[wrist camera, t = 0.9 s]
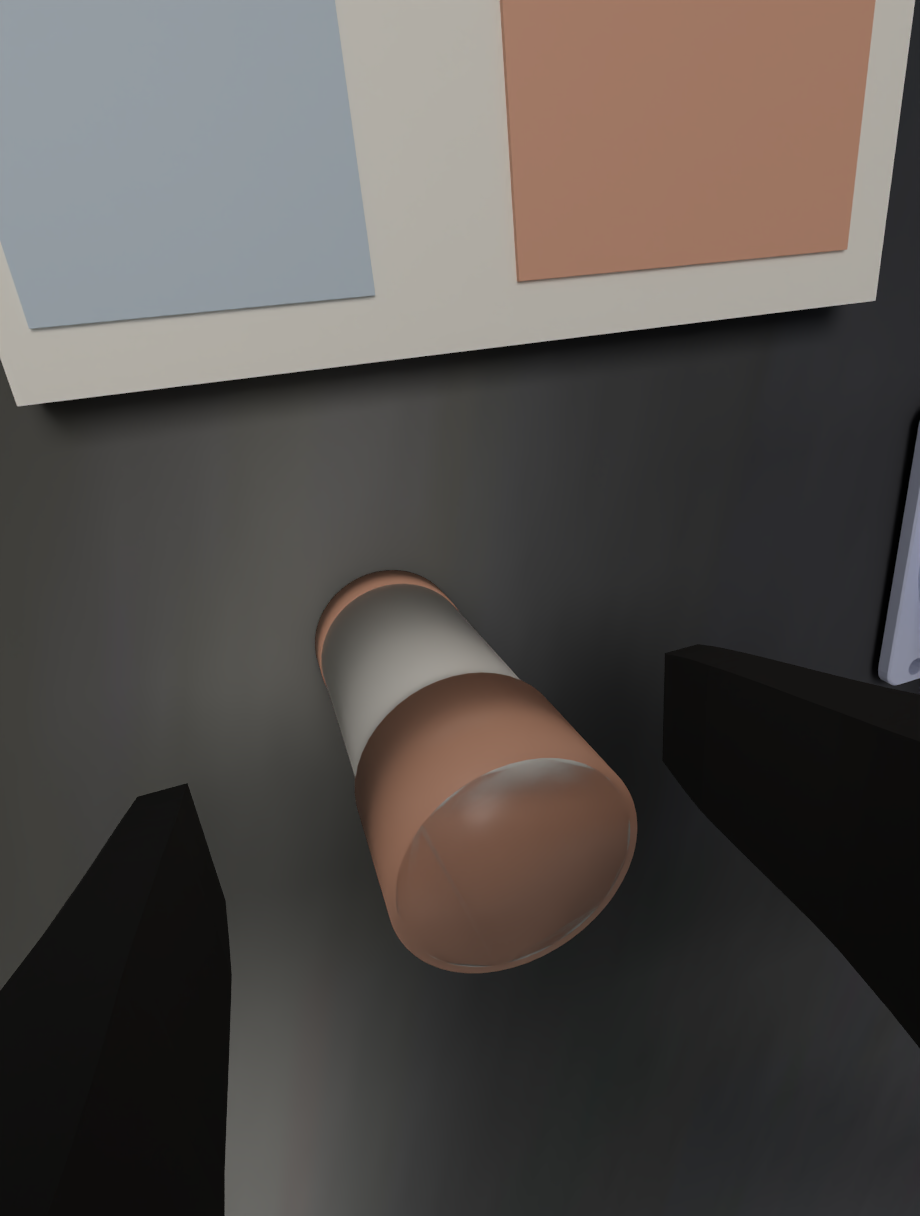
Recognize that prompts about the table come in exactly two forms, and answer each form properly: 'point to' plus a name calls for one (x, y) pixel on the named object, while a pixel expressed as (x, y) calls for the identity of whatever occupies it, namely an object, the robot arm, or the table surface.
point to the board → (425, 176)
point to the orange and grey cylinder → (467, 782)
